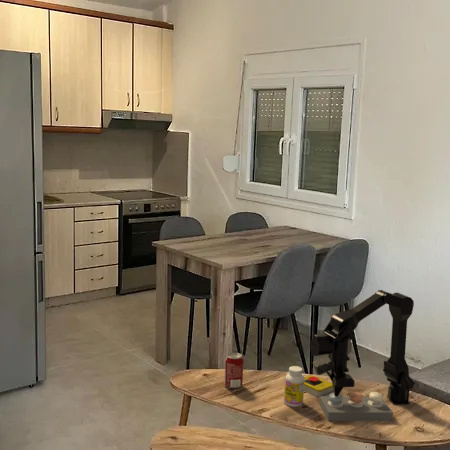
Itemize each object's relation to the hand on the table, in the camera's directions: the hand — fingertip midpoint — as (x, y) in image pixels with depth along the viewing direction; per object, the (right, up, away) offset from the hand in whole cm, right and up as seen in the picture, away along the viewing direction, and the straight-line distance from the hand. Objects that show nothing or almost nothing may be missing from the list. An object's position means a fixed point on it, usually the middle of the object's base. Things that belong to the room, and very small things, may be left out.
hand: (336, 395), depth 199 cm
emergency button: (-4, -4, +19) cm, 20 cm away
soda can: (-35, -2, +19) cm, 40 cm away
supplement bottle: (-14, -5, +7) cm, 16 cm away
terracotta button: (+7, -2, +1) cm, 7 cm away
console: (+7, -6, +1) cm, 9 cm away
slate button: (0, -2, 0) cm, 2 cm away
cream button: (+14, -2, +1) cm, 14 cm away
